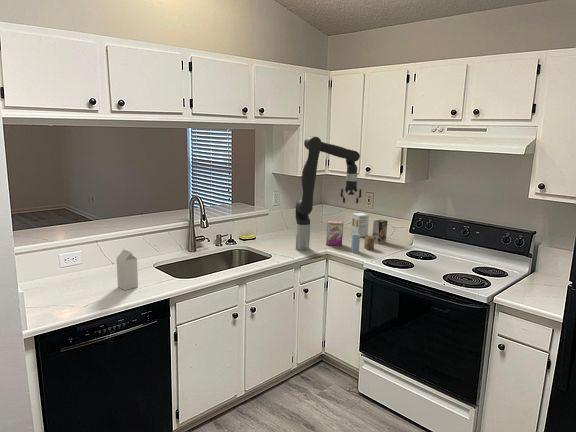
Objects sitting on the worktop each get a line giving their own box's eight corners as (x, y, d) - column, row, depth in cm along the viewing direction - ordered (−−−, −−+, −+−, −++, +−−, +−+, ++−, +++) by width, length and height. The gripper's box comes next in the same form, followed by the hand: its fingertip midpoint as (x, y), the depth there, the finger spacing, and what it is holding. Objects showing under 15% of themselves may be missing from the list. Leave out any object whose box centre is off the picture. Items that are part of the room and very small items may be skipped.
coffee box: (378, 244, 320) (380, 222, 317) (371, 242, 325) (372, 220, 322) (386, 242, 326) (387, 220, 323) (379, 240, 331) (380, 219, 328)
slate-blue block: (352, 252, 296) (353, 235, 294) (351, 250, 301) (352, 233, 298) (358, 252, 296) (359, 235, 294) (357, 250, 301) (358, 233, 298)
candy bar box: (326, 245, 313) (327, 222, 310) (326, 243, 318) (327, 221, 315) (342, 246, 312) (343, 223, 309) (342, 244, 317) (343, 221, 314)
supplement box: (350, 234, 347) (352, 213, 344) (360, 233, 351) (362, 212, 348) (357, 237, 339) (359, 215, 335) (367, 236, 343) (369, 214, 339)
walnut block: (366, 250, 304) (367, 238, 302) (364, 248, 309) (365, 236, 307) (373, 249, 305) (374, 238, 303) (371, 247, 309) (371, 236, 308)
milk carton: (124, 290, 218) (123, 253, 214) (117, 287, 222) (115, 250, 218) (138, 287, 223) (136, 250, 219) (130, 283, 227) (129, 247, 224)
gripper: (341, 180, 303) (340, 204, 306) (362, 180, 303) (361, 204, 306) (340, 179, 310) (339, 202, 313) (361, 179, 310) (359, 202, 313)
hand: (350, 203), depth 310 cm, fingers open, 8 cm apart
